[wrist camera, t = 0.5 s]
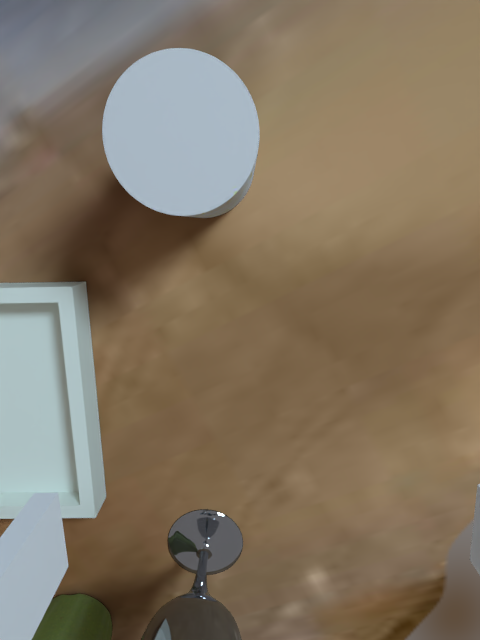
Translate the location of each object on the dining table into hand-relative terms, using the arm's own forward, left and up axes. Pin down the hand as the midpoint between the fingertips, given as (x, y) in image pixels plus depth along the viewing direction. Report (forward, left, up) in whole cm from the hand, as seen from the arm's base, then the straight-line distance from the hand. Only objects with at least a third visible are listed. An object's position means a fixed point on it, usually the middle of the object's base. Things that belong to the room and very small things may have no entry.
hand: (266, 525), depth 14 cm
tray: (+5, -24, -24) cm, 34 cm away
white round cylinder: (-14, -4, -24) cm, 28 cm away
